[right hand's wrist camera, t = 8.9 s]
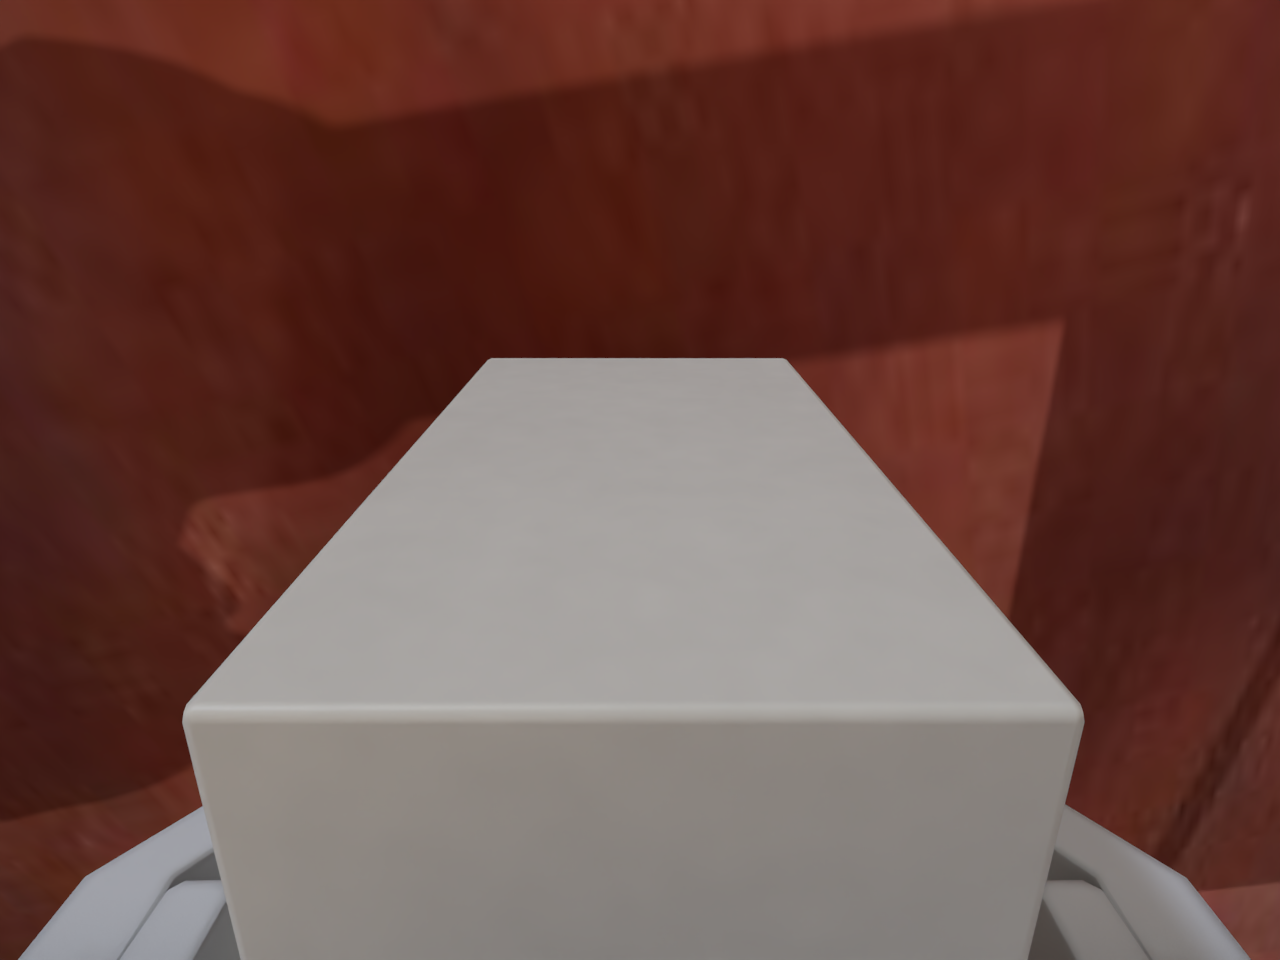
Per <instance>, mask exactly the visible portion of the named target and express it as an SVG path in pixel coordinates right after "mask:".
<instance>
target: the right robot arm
mask: <svg viewBox="0 0 1280 960" xmlns="http://www.w3.org/2000/svg"><path fill="white" fill-rule="evenodd" d="M18 960H241V959H240V955H239V951H238V947H237V943H236V938H235V934H234V930H233V926H232V922H231V918H230V914H229V910H228V906H227V902H226V898H225V894H224V890H223V886H222V882H221V878H220V874H219V870H218V865H217V861H216V857H215V853H214V849H213V845H212V841H211V837H210V833H209V829H208V825H207V821H206V817H205V813H204V809H203V806H202V807H201V808H199V809H197V810H196V811H194V812H192V813H191V814H189V815H187V816H186V817H184V818H182V819H181V820H179V821H177V822H176V823H174V824H172V825H171V826H169V827H167V828H166V829H164V830H162V831H161V832H159V833H157V834H156V835H154V836H152V837H151V838H149V839H147V840H146V841H144V842H142V843H141V844H139V845H137V846H136V847H134V848H132V849H131V850H129V851H127V852H126V853H124V854H122V855H121V856H119V857H117V858H116V859H114V860H112V861H111V862H109V863H107V864H106V865H104V866H102V867H101V868H99V869H97V870H96V871H94V872H92V873H91V874H89V875H87V876H86V877H85V878H84V879H83V880H82V881H81V883H80V884H79V885H78V886H77V887H76V889H75V890H74V891H73V892H72V894H71V895H70V896H69V897H68V899H67V900H66V901H65V902H64V904H63V905H62V906H61V907H60V908H59V910H58V911H57V912H56V913H55V915H54V916H53V917H52V918H51V920H50V921H49V922H48V923H47V925H46V926H45V927H44V928H43V929H42V931H41V932H40V933H39V934H38V936H37V937H36V938H35V939H34V941H33V942H32V943H31V944H30V946H29V947H28V948H27V949H26V951H25V952H24V953H23V954H22V955H21V957H20V958H19V959H18ZM1028 960H1251V959H1250V958H1249V956H1248V955H1247V954H1246V953H1245V951H1244V950H1243V949H1242V947H1241V946H1240V945H1239V944H1238V942H1237V941H1236V940H1235V939H1234V937H1233V936H1232V935H1231V934H1230V932H1229V931H1228V930H1227V928H1226V927H1225V926H1224V925H1223V923H1222V922H1221V921H1220V920H1219V918H1218V917H1217V916H1216V915H1215V913H1214V912H1213V911H1212V909H1211V908H1210V907H1209V906H1208V904H1207V903H1206V902H1205V901H1204V899H1203V898H1202V897H1201V896H1200V894H1199V893H1198V892H1197V890H1196V889H1195V888H1194V887H1193V885H1192V884H1191V883H1190V882H1189V880H1188V879H1187V878H1186V877H1184V876H1182V875H1181V874H1179V873H1178V872H1176V871H1174V870H1173V869H1171V868H1169V867H1168V866H1166V865H1164V864H1163V863H1161V862H1159V861H1158V860H1156V859H1154V858H1153V857H1151V856H1150V855H1148V854H1146V853H1145V852H1143V851H1141V850H1140V849H1138V848H1136V847H1135V846H1133V845H1131V844H1130V843H1128V842H1127V841H1125V840H1123V839H1122V838H1120V837H1118V836H1117V835H1115V834H1113V833H1112V832H1110V831H1108V830H1107V829H1105V828H1103V827H1102V826H1100V825H1099V824H1097V823H1095V822H1094V821H1092V820H1090V819H1089V818H1087V817H1085V816H1084V815H1082V814H1080V813H1079V812H1077V811H1076V810H1074V809H1072V808H1071V807H1069V806H1067V805H1066V804H1065V806H1064V810H1063V814H1062V818H1061V822H1060V826H1059V831H1058V835H1057V839H1056V843H1055V847H1054V851H1053V856H1052V860H1051V864H1050V868H1049V872H1048V876H1047V881H1046V885H1045V889H1044V893H1043V897H1042V901H1041V906H1040V910H1039V914H1038V918H1037V922H1036V926H1035V930H1034V935H1033V939H1032V943H1031V947H1030V951H1029V955H1028Z"/></svg>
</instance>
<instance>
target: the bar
mask: <svg viewBox="0 0 1280 960" xmlns="http://www.w3.org/2000/svg"><path fill="white" fill-rule="evenodd" d="M1084 722H1085V721H1084V715H1083V710H1082V707H1081V704H1080V703H1079V702H1078V701H1077V699H1076V698H1075V697H1074V696H1073V695H1072V694H1071V692H1070V691H1069V690H1068V689H1067V688H1066V687H1065V685H1064V684H1063V683H1062V682H1061V681H1060V680H1059V678H1058V677H1057V676H1056V675H1055V674H1054V673H1053V671H1052V670H1051V669H1050V668H1049V667H1048V666H1047V664H1046V663H1045V662H1044V661H1043V660H1042V658H1041V657H1040V656H1039V655H1038V654H1037V653H1036V651H1035V650H1034V649H1033V648H1032V647H1031V646H1030V644H1029V643H1028V642H1027V641H1026V640H1025V639H1024V637H1023V636H1022V635H1021V634H1020V633H1019V632H1018V630H1017V629H1016V628H1015V627H1014V626H1013V625H1012V623H1011V622H1010V621H1009V620H1008V619H1007V617H1006V616H1005V615H1004V614H1003V613H1002V612H1001V610H1000V609H999V608H998V607H997V606H996V605H995V603H994V602H993V601H992V600H991V599H990V598H989V596H988V595H987V594H986V593H985V592H984V591H983V589H982V588H981V587H980V586H979V585H978V584H977V582H976V581H975V580H974V579H973V578H972V576H971V575H970V574H969V573H968V572H967V571H966V569H965V568H964V567H963V566H962V565H961V564H960V562H959V561H958V560H957V559H956V558H955V557H954V555H953V554H952V553H951V552H950V551H949V550H948V548H947V547H946V546H945V545H944V544H943V543H942V541H941V540H940V539H939V538H938V537H937V535H936V534H935V533H934V532H933V531H932V530H931V528H930V527H929V526H928V525H927V524H926V523H925V521H924V520H923V519H922V518H921V517H920V516H919V514H918V513H917V512H916V511H915V510H914V509H913V507H912V506H911V505H910V504H909V503H908V502H907V500H906V499H905V498H904V497H903V496H902V494H901V493H900V492H899V491H898V490H897V489H896V487H895V486H894V485H893V484H892V483H891V482H890V480H889V479H888V478H887V477H886V476H885V475H884V473H883V472H882V471H881V470H880V469H879V468H878V466H877V465H876V464H875V463H874V462H873V461H872V459H871V458H870V457H869V456H868V455H867V453H866V452H865V451H864V450H863V449H862V448H861V446H860V445H859V444H858V443H857V442H856V441H855V439H854V438H853V437H852V436H851V435H850V434H849V432H848V431H847V430H846V429H845V428H844V427H843V425H842V424H841V423H840V422H839V421H838V420H837V418H836V417H835V416H834V415H833V414H832V412H831V411H830V410H829V409H828V408H827V407H826V405H825V404H824V403H823V402H822V401H821V400H820V398H819V397H818V396H817V395H816V394H815V393H814V391H813V390H812V389H811V388H810V387H809V386H808V384H807V383H806V382H805V381H804V380H803V379H802V377H801V376H800V375H799V374H798V373H797V371H796V370H795V369H794V368H793V367H792V366H791V364H790V363H789V362H788V361H787V360H786V359H783V358H491V359H489V360H487V362H486V363H485V364H484V365H483V366H482V367H481V368H480V370H479V371H478V372H477V373H476V374H475V375H474V376H473V378H472V379H471V380H470V381H469V382H468V383H467V384H466V386H465V387H464V388H463V389H462V390H461V391H460V392H459V394H458V395H457V396H456V397H455V398H454V399H453V400H452V402H451V403H450V404H449V405H448V406H447V407H446V408H445V410H444V411H443V412H442V413H441V414H440V415H439V416H438V418H437V419H436V420H435V421H434V422H433V423H432V424H431V426H430V427H429V428H428V429H427V430H426V431H425V432H424V434H423V435H422V436H421V437H420V438H419V439H418V440H417V442H416V443H415V444H414V445H413V446H412V447H411V448H410V450H409V451H408V452H407V453H406V454H405V455H404V456H403V458H402V459H401V460H400V461H399V462H398V463H397V464H396V466H395V467H394V468H393V469H392V470H391V471H390V472H389V474H388V475H387V476H386V477H385V478H384V479H383V480H382V482H381V483H380V484H379V485H378V486H377V487H376V488H375V490H374V491H373V492H372V493H371V494H370V495H369V496H368V498H367V499H366V500H365V501H364V502H363V503H362V504H361V506H360V507H359V508H358V509H357V510H356V511H355V512H354V514H353V515H352V516H351V517H350V518H349V519H348V520H347V522H346V523H345V524H344V525H343V526H342V527H341V528H340V530H339V531H338V532H337V533H336V534H335V535H334V536H333V538H332V539H331V540H330V541H329V542H328V543H327V544H326V546H325V547H324V548H323V549H322V550H321V551H320V552H319V554H318V555H317V556H316V557H315V558H314V559H313V560H312V562H311V563H310V564H309V565H308V566H307V567H306V568H305V570H304V571H303V572H302V573H301V574H300V575H299V576H298V578H297V579H296V580H295V581H294V582H293V583H292V584H291V586H290V587H289V588H288V589H287V590H286V591H285V592H284V594H283V595H282V596H281V597H280V598H279V599H278V600H277V602H276V603H275V604H274V605H273V606H272V607H271V608H270V610H269V611H268V612H267V613H266V614H265V615H264V616H263V618H262V619H261V620H260V621H259V622H258V623H257V624H256V626H255V627H254V628H253V629H252V630H251V631H250V632H249V634H248V635H247V636H246V637H245V638H244V639H243V640H242V642H241V643H240V644H239V645H238V646H237V647H236V648H235V650H234V651H233V652H232V653H231V654H230V655H229V656H228V658H227V659H226V660H225V661H224V662H223V663H222V664H221V666H220V667H219V668H218V669H217V670H216V671H215V672H214V674H213V675H212V676H211V677H210V678H209V679H208V680H207V682H206V683H205V684H204V685H203V686H202V687H201V688H200V690H199V691H198V692H197V693H196V694H195V695H194V696H193V698H192V699H191V700H190V701H189V702H188V703H187V704H186V707H185V710H184V714H183V721H182V723H183V728H184V732H185V736H186V740H187V744H188V748H189V752H190V756H191V760H192V764H193V768H194V772H195V776H196V780H197V784H198V788H199V792H200V796H201V801H202V805H203V809H204V813H205V817H206V821H207V825H208V829H209V833H210V837H211V841H212V845H213V849H214V853H215V857H216V861H217V865H218V870H219V874H220V878H221V882H222V886H223V890H224V894H225V898H226V902H227V906H228V910H229V914H230V918H231V922H232V926H233V930H234V934H235V938H236V943H237V947H238V951H239V955H240V959H241V960H1028V955H1029V951H1030V947H1031V943H1032V939H1033V935H1034V930H1035V926H1036V922H1037V918H1038V914H1039V910H1040V906H1041V901H1042V897H1043V893H1044V889H1045V885H1046V881H1047V876H1048V872H1049V868H1050V864H1051V860H1052V856H1053V851H1054V847H1055V843H1056V839H1057V835H1058V831H1059V826H1060V822H1061V818H1062V814H1063V810H1064V806H1065V802H1066V797H1067V793H1068V789H1069V785H1070V781H1071V777H1072V772H1073V768H1074V764H1075V760H1076V756H1077V752H1078V747H1079V743H1080V739H1081V735H1082V731H1083V727H1084Z"/></svg>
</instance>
